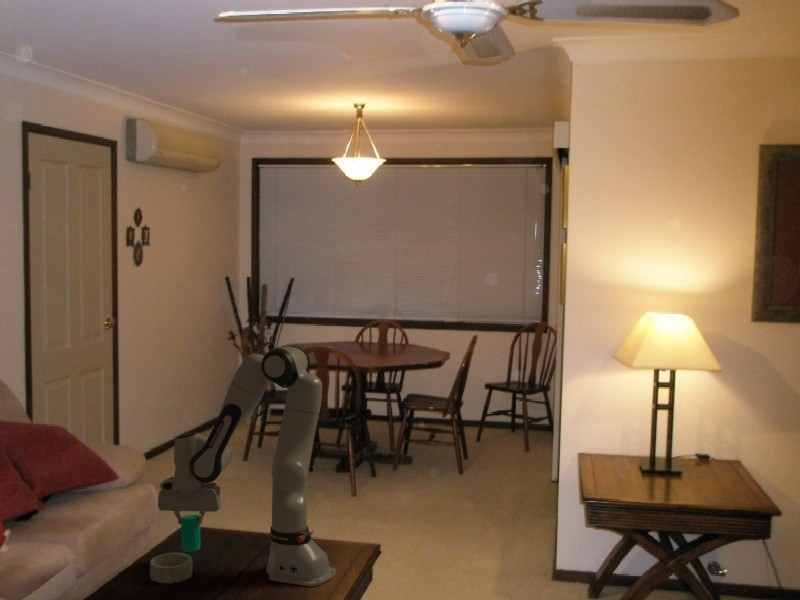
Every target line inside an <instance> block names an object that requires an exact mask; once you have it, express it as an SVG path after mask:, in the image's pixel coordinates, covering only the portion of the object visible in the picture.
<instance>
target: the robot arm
mask: <svg viewBox="0 0 800 600" xmlns="http://www.w3.org/2000/svg"><path fill="white" fill-rule="evenodd" d="M310 364H311V361H310V357H309V354H308V353H307V351H305V349H303V348H301V347H299V346H295V345H294V346H293V345H292V346H286V345H285V346H281V347H277V348H273V349H271V350H269V351H268V352H267V353H266V354H264V355H263V354H259V353H251V354H248V355H247V356H246V357H244V360H243V361H242V362H241V363H240V365H239V366H238V368H237V370H236V372H235V373H234V376H233V377H232V380H231V382H230V384H229V386H228V389H227V391H226V393H225V394H226V395H225V398H224V401H223V403H222V407H221V410H220V412H219V415H218V418H217V419H216V422H215V423H214V425H213V427H212V429H211V432H210V434H209V436H208V438H207V437H205V436H204V435H202V434H201V433H199V432H197V431H190V432H185V433H183V434H180V435H179V436H177V437H176V439H175V440H174V443H173V444H174V447H173V463H174V466H175V469H174V470H175V471H174V475H173V476H171V477H168V478H166V479H164V480H163V481H162V482H161V483H160V485H159V488H160V490H159V493H158V498H157V507H158V509H159V510H160V511H162V512H164V511H166V512H169V511H170V512H174V516H175V517H176V519H177V524H178V525H181V517H183V518H184V516H182V515H181V512H198V513H199V514H198V515H199V516H200V518H199V519H197V520H198V524H200V525H202V524H203V521H204V520H203V518H204V517H205V515H206V513H207V512H213V513H216V512H218V511H219V510H220V509H221V508H222V500H221V487H220V484H217V483H216V482H214V481H216V480H217V479H218V477H219V476H220V475H221V474H222V472H223V471H224V470H225V469H226V468H227V467H228V466H229V464H230V463H231V461H232V456H233V455H232V451H231V449H230V447H229V445H228V444H229V443H230V440H231V438H232V436H233V435H234V433H235V431H236V429H237V428H238V427H239V426H240V425H241V424H242V423H243V421H245V420H246V419H247V417H249V416H250V415H251V414H252V413H253V412H254V410H255V409H256V408H257V407H258V405H259V404H260V403H261V401H262V399H263V397H264V394H265V392H266V390H267V388H268V386H269V385H270V383H271V382H273V383H274V384H276V385H277V386H279V387H281V388H283V389H285V388H286V391H287V394H286V401H285V404H284V409H283V414H282V419H281V423H280V428H279V434H278V439H277V444H276V451H275V454H274V456H273V458H272V467H271V468H272V469H271V479H272V486H271V487H272V489H271V490H272V491H271V492H272V493H271V495H272V497H271V526H270V528H269V530H270V531H269V539H270V550H269V558H268V562H267V565H266V568H265V572H266V574H267V575H268V580H270V581H274V582H281V583H286V584H293V585H299V586H306V587H310V588H311V587H317V586H320V585H322V583H323V584H325V583H326V581H327V582H328V580H329V581H330V580H331V578H332V579H333V578H334V577H335V576H336V573H337V569H336V568H334V567H331V566H330V563H329V558H328V557H329V556H328V554H327V553H326V552H325V551H324V550H323V548H321V547H320V546H319V545H318V544H317V543H316V542H315V541H314V540H313V539H312V535H314V534H315V533H314V530H311V531H310V529H309V526H308V525H307V524H308V523H307V521H308V517H307V515H308V513H307V512H308V476H309V469H310V466H311V465H310V464H311V458H312V453H313V447H314V440H315V435H316V431H317V425H318V423H319V416H320V411H321V406H322V401H323V400H322V398H323V381H322V380H321V379H320V378H319V377H318V376H316V375H315V374H312V373H309V372H308V371H309V368H310ZM324 582H325V583H324Z"/></svg>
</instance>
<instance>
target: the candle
mask: <svg viewBox="0 0 800 600" xmlns="http://www.w3.org/2000/svg"><path fill="white" fill-rule="evenodd" d="M200 516H201V515H200V514H197V513H196V514H192V515H191V514H186V515H184V516H182V517H181V524H180V529H181V530H180V533H181V538H180V539H181V550H182V551H183V552H186V553H187V552H188V553H190V552H197V551H199V550H200V549H201V548H202V547H201V524H198V520H197V519H199V518H200ZM183 517H184V518H183Z"/></svg>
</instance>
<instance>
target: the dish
mask: <svg viewBox="0 0 800 600" xmlns="http://www.w3.org/2000/svg"><path fill="white" fill-rule="evenodd" d="M192 574H193V557H192V556H191V555H190V554H188V553H184V552H165V553H160V554H158V555H156V556H154V557H152V558H151V559H150V561H149V578H150V577H151V578H150V579H151V580H152V581H153V582H155V581H156V583H158V584H175V583H174V582H176V583H180V581H181V582H183V581H185V580H188V579H190V578H191V577H192Z"/></svg>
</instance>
